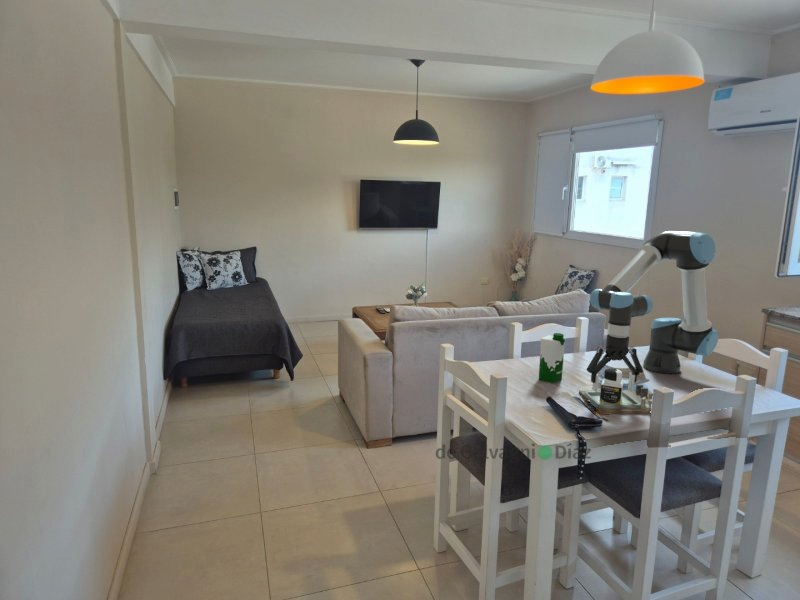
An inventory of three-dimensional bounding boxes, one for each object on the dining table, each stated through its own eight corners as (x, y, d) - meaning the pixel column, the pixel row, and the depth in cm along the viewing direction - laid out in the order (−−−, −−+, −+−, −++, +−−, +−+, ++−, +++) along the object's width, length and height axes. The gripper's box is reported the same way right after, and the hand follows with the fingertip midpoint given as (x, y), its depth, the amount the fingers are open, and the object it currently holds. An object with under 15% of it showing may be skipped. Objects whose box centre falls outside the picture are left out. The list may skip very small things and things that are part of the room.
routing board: (648, 393, 213) (649, 382, 212) (676, 413, 193) (678, 401, 192) (578, 393, 211) (579, 382, 210) (600, 413, 191) (601, 402, 190)
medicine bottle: (599, 402, 199) (602, 371, 196) (601, 395, 205) (604, 365, 203) (620, 405, 196) (623, 374, 193) (621, 399, 202) (624, 368, 200)
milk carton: (555, 384, 220) (559, 337, 216) (535, 379, 226) (538, 333, 222) (564, 379, 227) (568, 333, 223) (544, 374, 232) (547, 329, 228)
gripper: (646, 332, 200) (640, 386, 204) (580, 332, 198) (575, 387, 203) (656, 337, 193) (650, 394, 197) (588, 337, 191) (583, 394, 195)
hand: (612, 390), depth 200 cm, fingers open, 13 cm apart
